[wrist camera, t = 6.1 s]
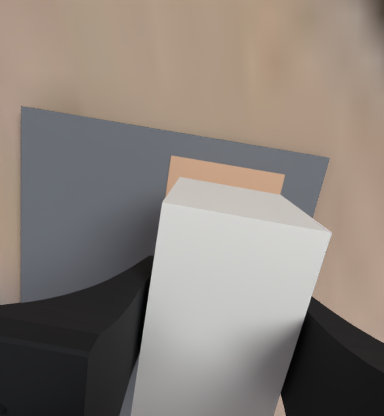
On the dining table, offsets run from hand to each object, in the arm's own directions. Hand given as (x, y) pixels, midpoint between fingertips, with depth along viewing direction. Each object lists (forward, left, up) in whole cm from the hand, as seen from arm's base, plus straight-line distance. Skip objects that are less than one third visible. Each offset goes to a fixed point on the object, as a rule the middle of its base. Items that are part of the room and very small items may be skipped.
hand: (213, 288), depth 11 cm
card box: (0, 0, -2) cm, 2 cm away
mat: (-5, +3, -5) cm, 7 cm away
